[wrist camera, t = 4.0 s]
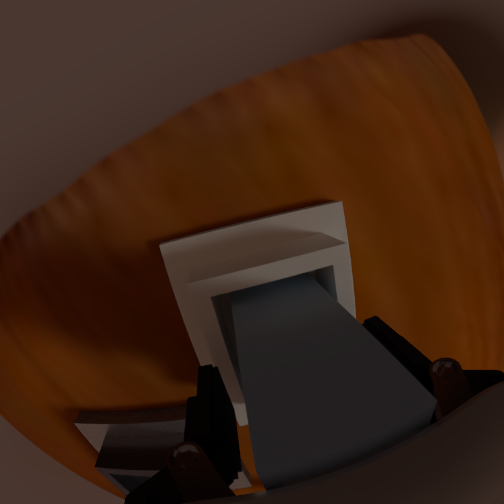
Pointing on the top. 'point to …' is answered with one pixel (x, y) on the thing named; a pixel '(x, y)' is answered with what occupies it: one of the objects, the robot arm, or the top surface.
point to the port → (137, 443)
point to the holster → (253, 276)
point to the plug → (318, 383)
